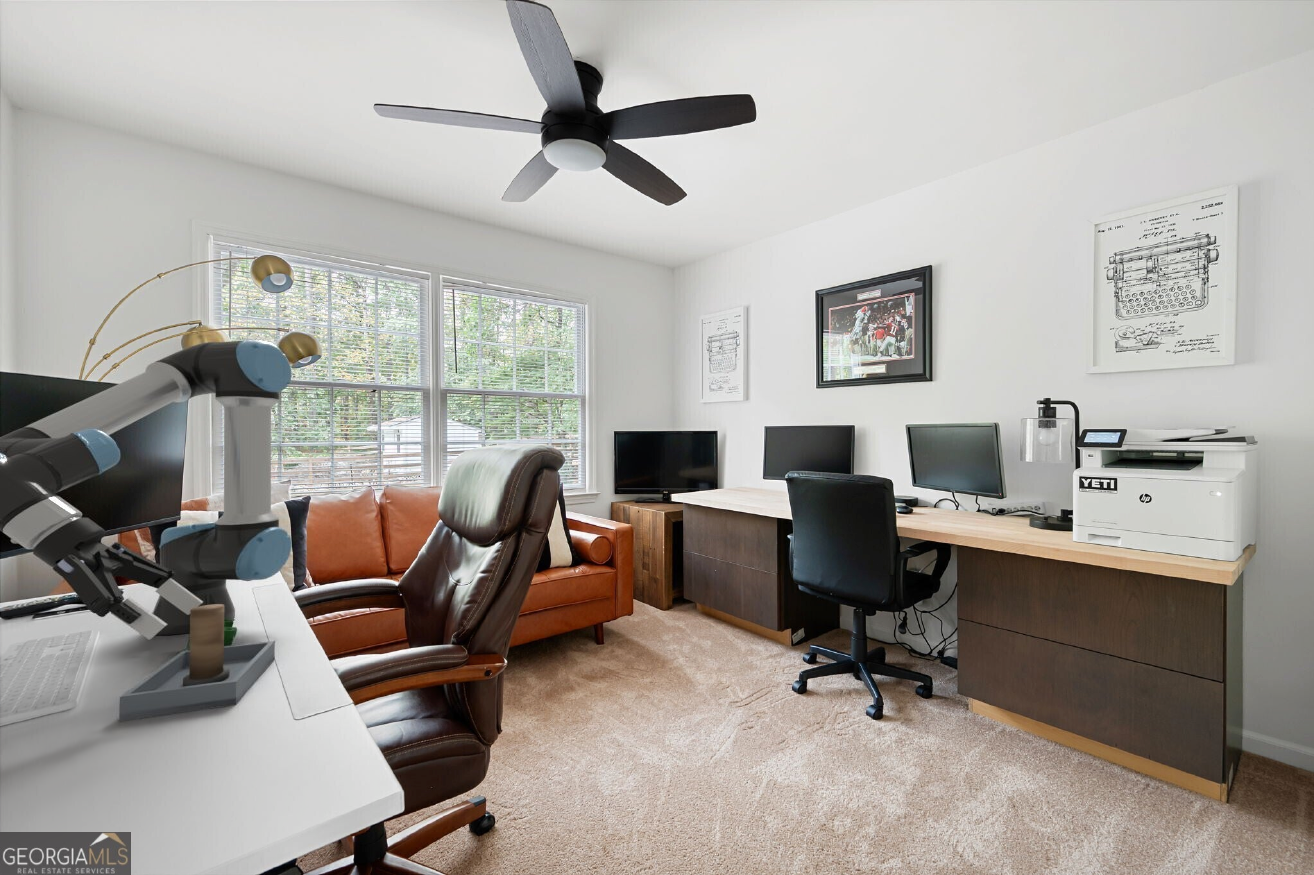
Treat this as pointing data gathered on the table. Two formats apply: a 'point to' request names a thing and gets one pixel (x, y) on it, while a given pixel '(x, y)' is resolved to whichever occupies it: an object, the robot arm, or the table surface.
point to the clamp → (225, 633)
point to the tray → (170, 696)
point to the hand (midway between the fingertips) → (178, 619)
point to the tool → (206, 646)
